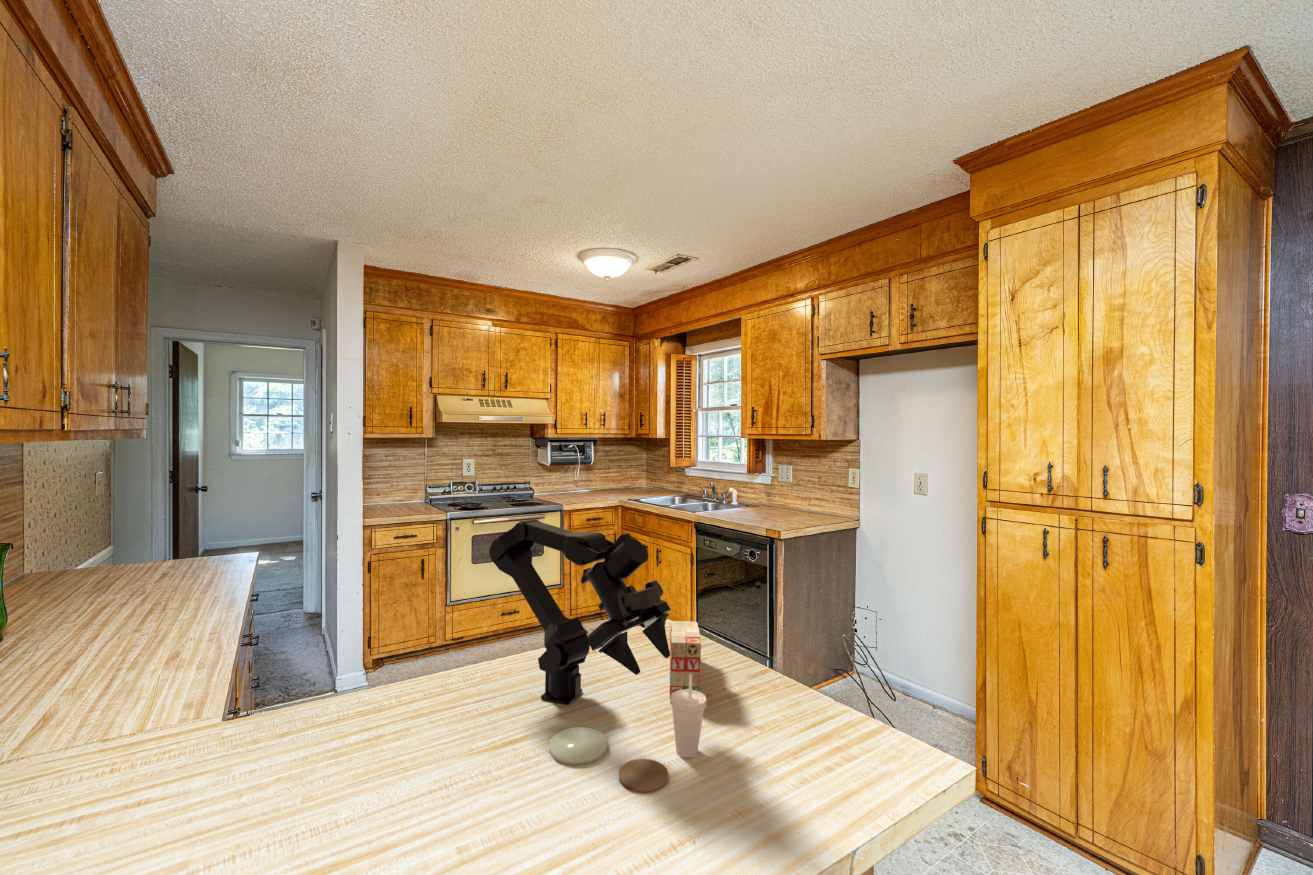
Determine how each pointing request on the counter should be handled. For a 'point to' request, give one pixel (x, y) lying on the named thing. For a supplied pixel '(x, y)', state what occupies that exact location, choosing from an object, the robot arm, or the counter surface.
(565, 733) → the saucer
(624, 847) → the counter surface
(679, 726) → the smoothie
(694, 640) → the stack of blocks
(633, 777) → the disc
